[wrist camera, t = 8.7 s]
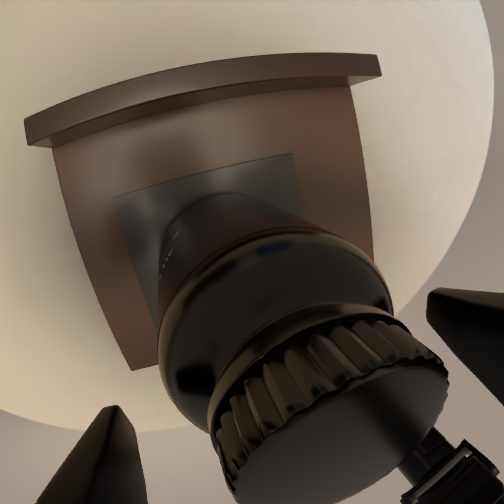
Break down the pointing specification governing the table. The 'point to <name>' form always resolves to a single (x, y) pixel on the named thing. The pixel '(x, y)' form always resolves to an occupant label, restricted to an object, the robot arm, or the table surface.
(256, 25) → the table surface
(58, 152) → the shelf
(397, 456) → the supplement bottle
